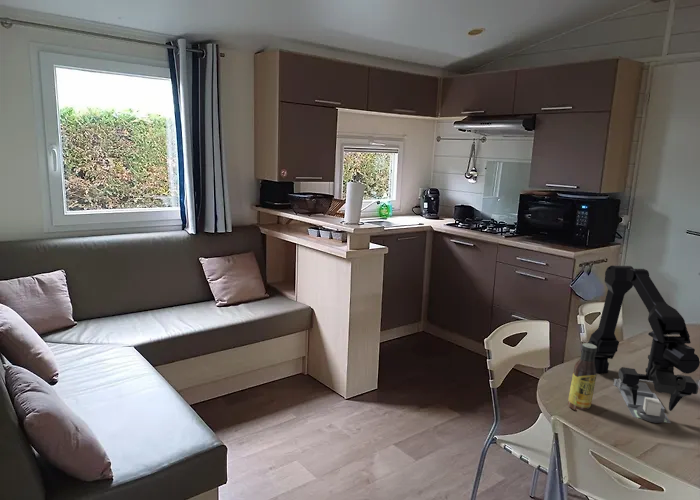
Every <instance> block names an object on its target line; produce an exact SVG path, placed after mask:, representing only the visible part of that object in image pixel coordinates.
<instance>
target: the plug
mask: <svg viewBox="0 0 700 500" xmlns="http://www.w3.org/2000/svg"><path fill="white" fill-rule="evenodd" d="M658 399H659V398H658ZM658 399H655V398H648V397H645V399H644V405H643V406H639V407H638V408H637V415H638V416H639V417H640V418H642V419H641V420H644V421H647V422H650V423H653V424H654V423H655V424H662V423H665V422H664V420H665V414H666V413H665V414H664V413H663V412H662V411H661V406H662V405H663V404H662V402H661V400H660V399H659V400H658ZM660 402H661V403H660ZM640 418H639V419H640Z"/></svg>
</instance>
